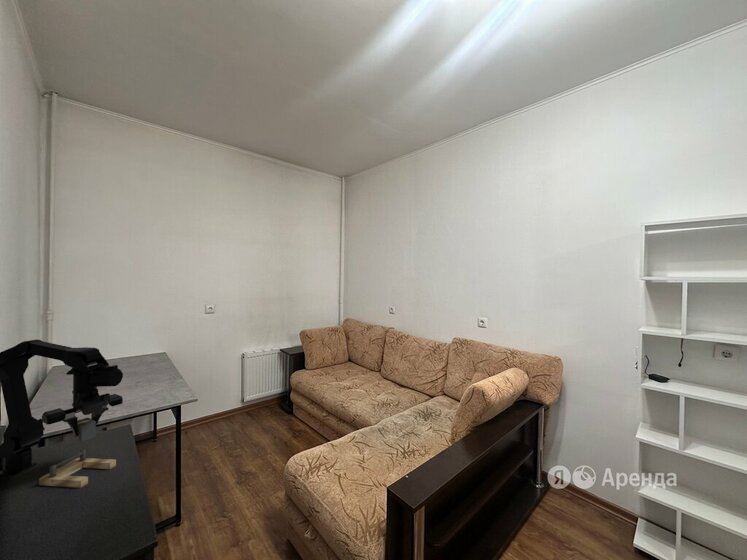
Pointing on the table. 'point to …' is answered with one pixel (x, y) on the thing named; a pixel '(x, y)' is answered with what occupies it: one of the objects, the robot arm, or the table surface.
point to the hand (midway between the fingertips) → (84, 433)
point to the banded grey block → (86, 429)
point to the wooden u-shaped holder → (74, 470)
